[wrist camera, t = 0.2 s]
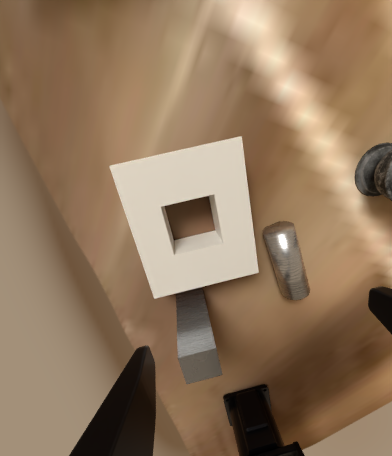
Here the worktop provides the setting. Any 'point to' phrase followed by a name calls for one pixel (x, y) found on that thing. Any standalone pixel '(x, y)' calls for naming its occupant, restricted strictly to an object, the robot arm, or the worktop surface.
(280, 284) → the round bit
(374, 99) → the worktop surface
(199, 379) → the square bit
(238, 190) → the socket block
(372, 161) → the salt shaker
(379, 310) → the robot arm
